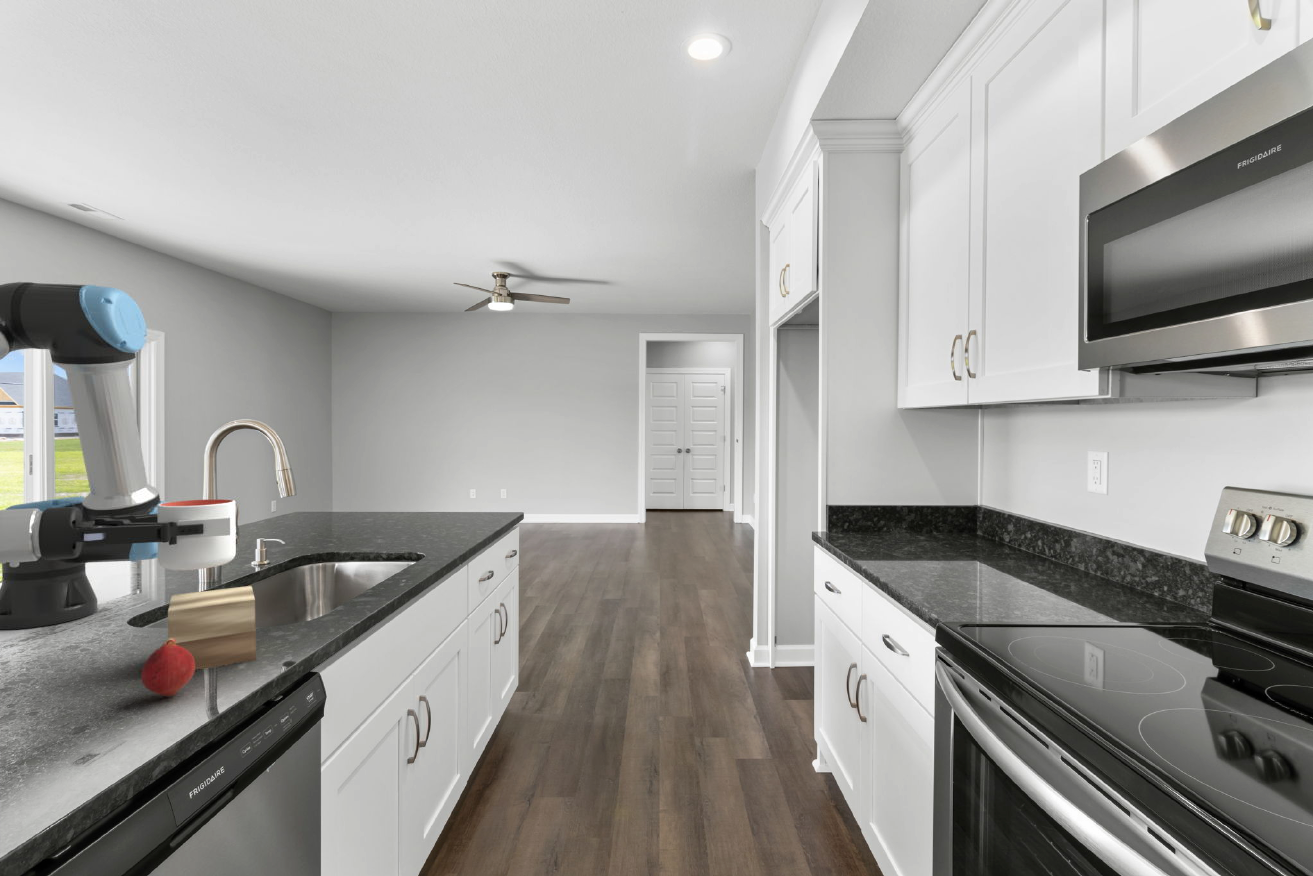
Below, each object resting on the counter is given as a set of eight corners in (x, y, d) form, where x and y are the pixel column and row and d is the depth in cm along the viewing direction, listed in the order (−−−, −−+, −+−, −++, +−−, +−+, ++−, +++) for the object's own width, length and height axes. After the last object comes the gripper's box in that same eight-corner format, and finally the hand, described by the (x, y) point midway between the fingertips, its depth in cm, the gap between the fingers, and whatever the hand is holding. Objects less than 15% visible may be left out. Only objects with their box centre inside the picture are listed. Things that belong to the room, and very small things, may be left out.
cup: (193, 573, 93) (193, 507, 93) (140, 570, 95) (140, 505, 95) (250, 560, 103) (250, 500, 103) (201, 557, 105) (201, 498, 105)
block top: (172, 625, 102) (171, 595, 102) (251, 614, 109) (251, 585, 109) (168, 644, 93) (168, 611, 93) (255, 630, 100) (255, 599, 100)
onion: (152, 709, 82) (151, 649, 82) (134, 699, 85) (134, 641, 85) (202, 693, 87) (202, 637, 87) (184, 684, 90) (184, 629, 90)
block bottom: (173, 655, 102) (173, 625, 102) (252, 642, 109) (252, 613, 109) (169, 677, 93) (169, 644, 93) (255, 661, 100) (255, 630, 100)
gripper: (60, 547, 98) (230, 534, 111) (20, 576, 80) (230, 556, 92) (60, 500, 98) (230, 493, 111) (19, 517, 80) (229, 506, 92)
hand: (230, 521), depth 102 cm, fingers closed on cup, 10 cm apart
